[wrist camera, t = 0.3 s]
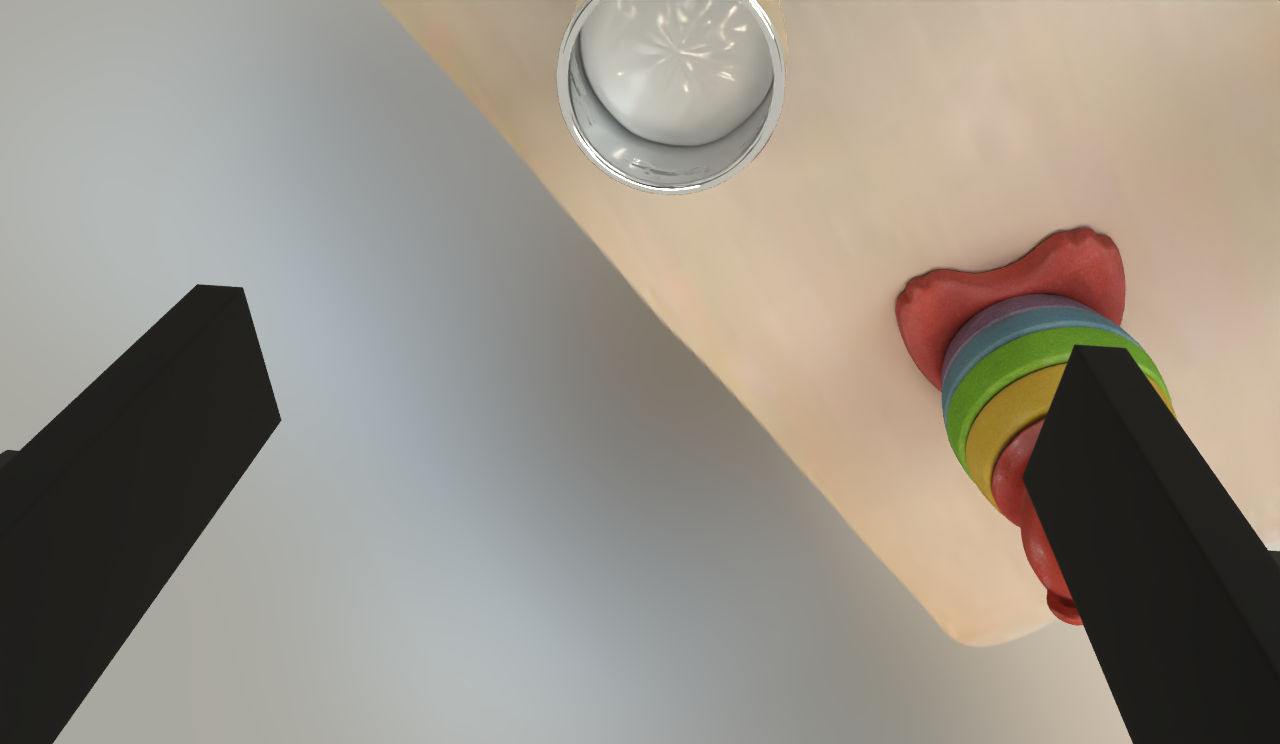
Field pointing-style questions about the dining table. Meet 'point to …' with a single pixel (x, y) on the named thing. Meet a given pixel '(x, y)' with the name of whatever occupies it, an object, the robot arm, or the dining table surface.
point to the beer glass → (672, 88)
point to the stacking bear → (1017, 364)
